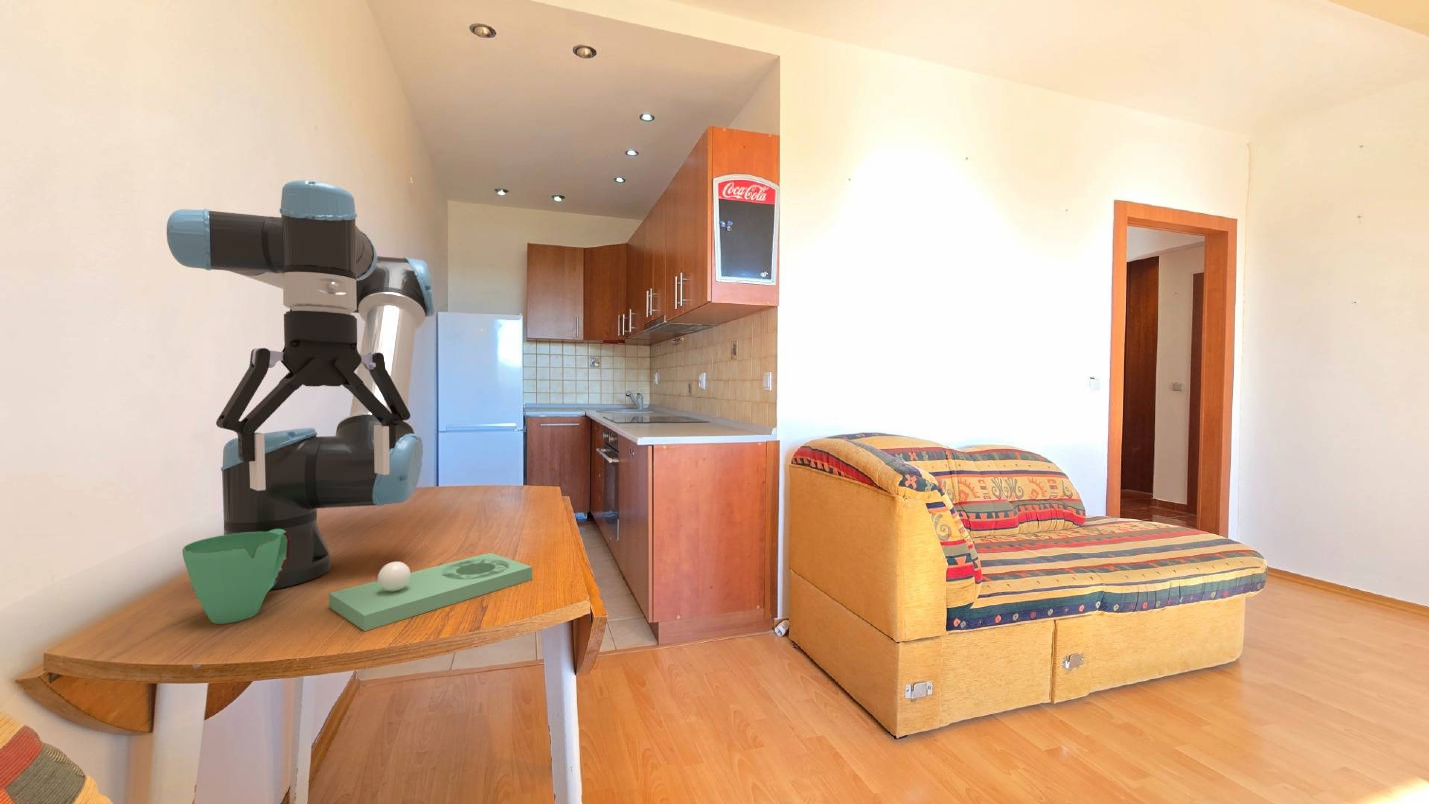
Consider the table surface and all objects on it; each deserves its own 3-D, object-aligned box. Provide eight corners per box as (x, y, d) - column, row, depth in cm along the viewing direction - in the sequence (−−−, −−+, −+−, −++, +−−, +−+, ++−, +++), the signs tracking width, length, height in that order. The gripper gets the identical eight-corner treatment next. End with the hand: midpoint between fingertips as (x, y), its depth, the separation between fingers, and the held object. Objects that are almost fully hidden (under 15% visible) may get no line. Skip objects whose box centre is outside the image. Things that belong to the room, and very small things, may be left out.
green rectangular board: (364, 631, 70) (364, 615, 70) (329, 607, 77) (328, 593, 77) (532, 579, 89) (531, 566, 89) (490, 564, 96) (490, 552, 96)
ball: (372, 591, 78) (372, 562, 78) (403, 583, 81) (402, 556, 81) (385, 598, 76) (384, 568, 76) (415, 589, 79) (415, 561, 79)
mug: (248, 630, 70) (246, 551, 70) (162, 633, 69) (160, 553, 69) (318, 588, 85) (317, 522, 84) (248, 590, 84) (247, 523, 83)
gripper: (195, 297, 58) (201, 501, 59) (435, 319, 78) (437, 471, 79) (178, 302, 62) (184, 492, 63) (409, 322, 83) (411, 465, 83)
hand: (324, 480), depth 71 cm, fingers open, 13 cm apart
